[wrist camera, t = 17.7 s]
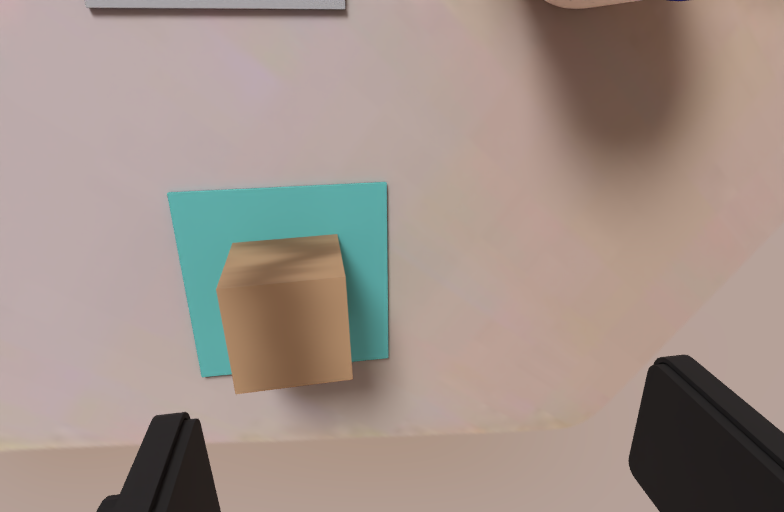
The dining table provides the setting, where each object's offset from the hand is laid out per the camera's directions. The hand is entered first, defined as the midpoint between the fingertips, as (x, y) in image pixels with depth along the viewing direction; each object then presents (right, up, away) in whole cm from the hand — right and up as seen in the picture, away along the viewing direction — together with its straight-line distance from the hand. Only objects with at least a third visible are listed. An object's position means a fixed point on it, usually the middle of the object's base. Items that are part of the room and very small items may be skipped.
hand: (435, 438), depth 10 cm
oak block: (-7, +2, +20) cm, 21 cm away
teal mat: (-7, +2, +20) cm, 21 cm away
